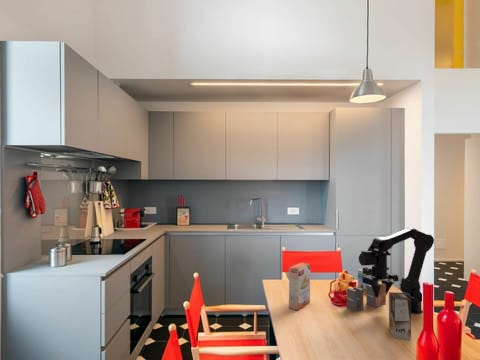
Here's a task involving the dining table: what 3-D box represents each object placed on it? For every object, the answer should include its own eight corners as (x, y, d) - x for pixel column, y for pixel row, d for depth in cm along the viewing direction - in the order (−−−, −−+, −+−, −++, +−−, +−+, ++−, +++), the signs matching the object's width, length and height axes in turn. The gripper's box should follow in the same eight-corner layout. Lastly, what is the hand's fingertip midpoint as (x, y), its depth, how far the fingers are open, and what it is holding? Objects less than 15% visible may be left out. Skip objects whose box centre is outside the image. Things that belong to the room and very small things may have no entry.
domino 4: (382, 303, 152) (382, 283, 152) (385, 304, 150) (385, 284, 150) (375, 305, 150) (375, 284, 150) (378, 306, 148) (378, 285, 148)
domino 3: (376, 306, 159) (376, 287, 159) (374, 307, 158) (373, 287, 158) (368, 303, 163) (368, 284, 164) (366, 303, 163) (366, 284, 163)
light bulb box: (357, 286, 190) (357, 269, 191) (365, 285, 193) (365, 268, 194) (371, 292, 181) (371, 273, 181) (379, 290, 184) (379, 272, 184)
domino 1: (356, 310, 153) (356, 290, 153) (354, 311, 152) (354, 291, 153) (349, 307, 158) (349, 287, 158) (346, 307, 157) (346, 288, 157)
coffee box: (411, 340, 124) (411, 300, 124) (394, 338, 125) (394, 298, 126) (404, 329, 133) (404, 292, 133) (388, 328, 134) (388, 291, 135)
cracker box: (299, 311, 153) (299, 269, 153) (288, 308, 156) (288, 267, 157) (310, 302, 164) (310, 263, 164) (300, 300, 167) (300, 261, 168)
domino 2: (363, 309, 155) (363, 289, 155) (361, 310, 154) (360, 290, 155) (356, 306, 160) (355, 286, 160) (353, 306, 159) (353, 287, 159)
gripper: (380, 259, 161) (380, 289, 161) (353, 262, 154) (353, 294, 153) (399, 264, 151) (399, 295, 151) (371, 268, 144) (371, 301, 143)
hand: (380, 296), depth 150 cm, fingers closed on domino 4, 5 cm apart
